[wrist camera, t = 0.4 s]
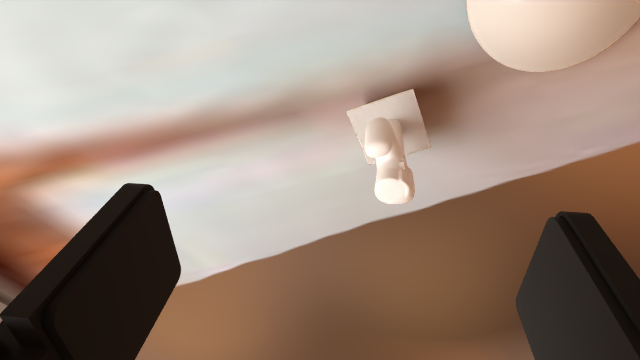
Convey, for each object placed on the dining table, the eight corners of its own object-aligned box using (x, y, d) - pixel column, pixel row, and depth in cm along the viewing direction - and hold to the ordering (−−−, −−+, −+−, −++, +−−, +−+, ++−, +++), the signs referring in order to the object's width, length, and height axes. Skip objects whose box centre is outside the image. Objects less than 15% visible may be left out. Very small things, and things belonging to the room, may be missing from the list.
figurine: (372, 156, 49) (371, 240, 37) (344, 89, 44) (333, 160, 32) (430, 139, 47) (449, 222, 34) (407, 66, 42) (420, 133, 30)
